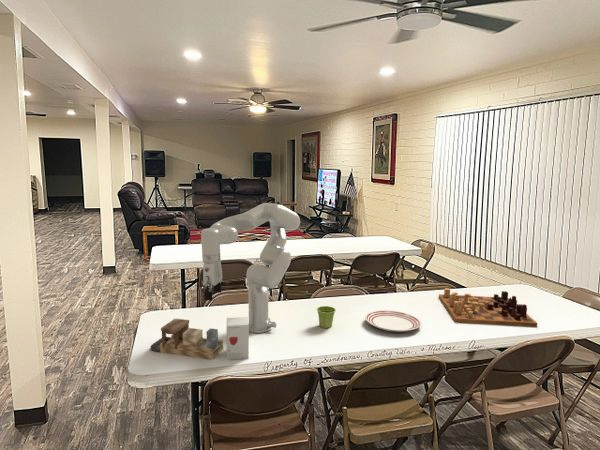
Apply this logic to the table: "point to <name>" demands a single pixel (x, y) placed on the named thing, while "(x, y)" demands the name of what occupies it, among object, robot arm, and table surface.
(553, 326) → the table surface
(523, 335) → the table surface
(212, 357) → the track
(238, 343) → the supplement box
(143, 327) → the table surface
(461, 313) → the gameboard
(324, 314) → the plant pot
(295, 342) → the table surface
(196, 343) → the beige and grey block
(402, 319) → the dinner plate
